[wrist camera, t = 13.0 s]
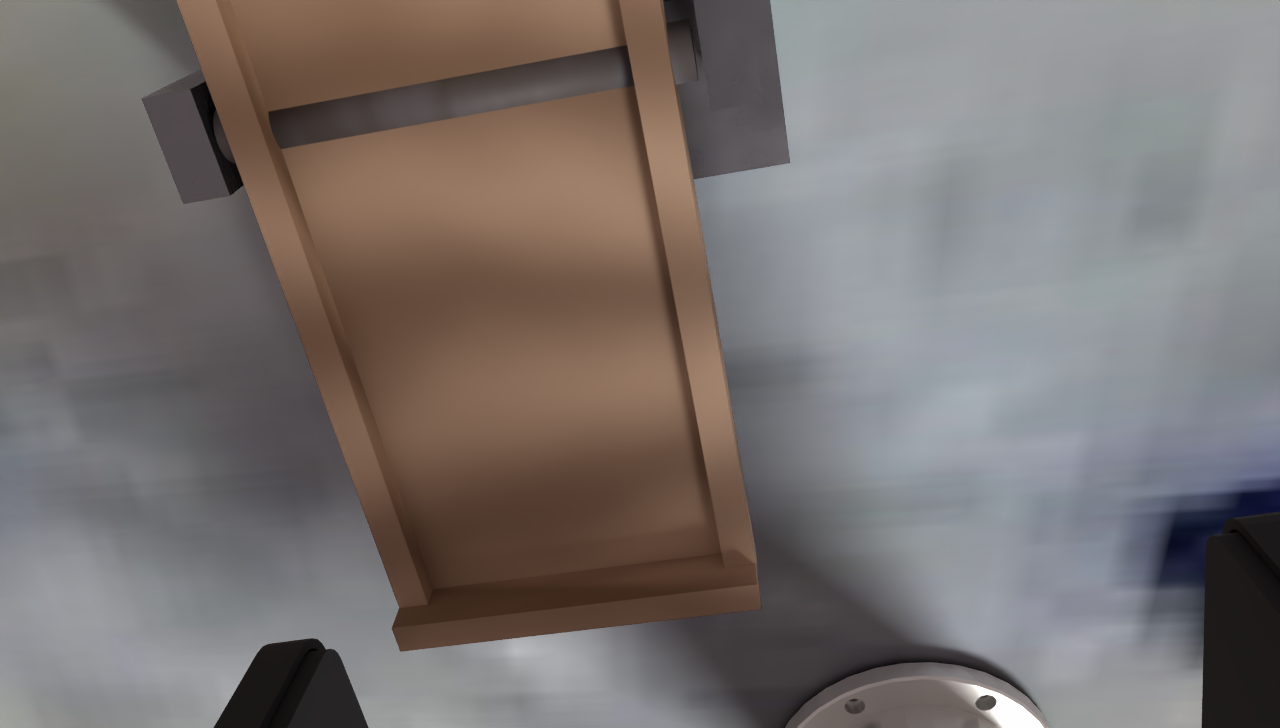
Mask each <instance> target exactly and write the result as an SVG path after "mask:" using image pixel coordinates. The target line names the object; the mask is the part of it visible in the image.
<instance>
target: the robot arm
mask: <svg viewBox="0 0 1280 728" xmlns="http://www.w3.org/2000/svg"><path fill="white" fill-rule="evenodd" d="M214 728H368V725H367V723H366V720H365V718H364V715H363V713H362V710H361V708H360V705H359V703H358V700H357V698H356V695H355V693H354V690H353V688H352V685H351V683H350V680H349V678H348V675H347V673H346V670H345V668H344V665H343V663H342V660H341V658H340V656H339V654H338V653H337V652H336V651H335V650H332V649H327V650H326V649H325V648H324V646H323V644H322V643H321V642H320V641H319V640H318V639H313V638H311V639H303V640H295V641H288V642H280V643H272V644H267V645H265V646H263V647H262V648H261V649H260V651H259V652H258V653H257V655H256V656H255V658H254V660H253V661H252V663H251V665H250V667H249V668H248V670H247V672H246V673H245V675H244V677H243V679H242V680H241V682H240V684H239V685H238V687H237V689H236V691H235V692H234V694H233V696H232V697H231V699H230V701H229V703H228V704H227V706H226V708H225V709H224V711H223V713H222V715H221V716H220V718H219V720H218V721H217V723H216V725H215V726H214ZM785 728H1049V727H1048V725H1047V723H1046V721H1045V719H1044V717H1043V715H1042V713H1041V712H1040V711H1039V710H1038V708H1037V707H1036V706H1035V705H1034V704H1033V703H1032V702H1031V701H1030V699H1029V698H1028V697H1027V696H1025V695H1024V694H1023V693H1021V692H1020V691H1018V690H1017V689H1016V688H1014V687H1013V686H1012V685H1010V684H1009V683H1007V682H1005V681H1003V680H1000V679H998V678H996V677H994V676H992V675H990V674H988V673H985V672H982V671H978V670H975V669H971V668H967V667H964V666H960V665H952V664H943V663H934V662H924V663H901V664H895V665H890V666H884V667H878V668H874V669H871V670H868V671H865V672H862V673H859V674H855V675H852V676H849V677H847V678H845V679H843V680H841V681H839V682H837V683H835V684H833V685H831V686H829V687H827V688H825V689H824V690H823V691H821V692H820V693H819V694H817V695H816V696H815V697H813V698H812V699H810V700H809V701H808V702H806V703H805V704H804V705H803V706H802V707H801V709H800V710H799V711H798V712H797V713H796V714H795V715H794V716H793V717H792V718H791V719H790V721H789V722H788V724H787V726H786V727H785ZM1202 728H1280V512H1275V513H1268V514H1260V515H1252V516H1245V517H1237V518H1230V519H1229V520H1227V521H1226V522H1225V525H1224V527H1223V533H1222V534H1220V535H1212V536H1210V537H1209V538H1208V541H1207V545H1206V570H1205V613H1204V656H1203V698H1202Z"/></svg>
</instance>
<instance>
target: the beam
mask: <svg viewBox="0 0 1280 728" xmlns="http://www.w3.org/2000/svg"><path fill="white" fill-rule="evenodd" d="M176 1H177V4H178V7H179V9H180V12H181V15H182V17H183V20H184V23H185V26H186V28H187V31H188V34H189V37H190V39H191V42H192V45H193V47H194V50H195V53H196V56H197V58H198V61H199V64H200V66H201V69H202V72H203V75H204V77H205V80H206V83H207V86H208V88H209V91H210V94H211V96H212V99H213V102H214V105H215V107H216V110H215V112H214V117H213V126H214V133H215V137H216V140H217V143H218V145H219V148H220V150H221V151H222V153H223V155H224V156H225V157H226V158H227V159H228V160H229V161H230V162H232V163H235V164H236V165H237V167H238V170H239V173H240V175H241V178H242V181H243V184H244V186H245V189H246V192H247V194H248V197H249V200H250V203H251V205H252V208H253V211H254V214H255V216H256V219H257V222H258V224H259V227H260V230H261V233H262V235H263V238H264V241H265V244H266V246H267V249H268V252H269V254H270V257H271V260H272V263H273V265H274V268H275V271H276V273H277V276H278V279H279V282H280V284H281V287H282V290H283V293H284V295H285V298H286V301H287V303H288V306H289V309H290V312H291V314H292V317H293V320H294V322H295V325H296V328H297V331H298V333H299V336H300V339H301V342H302V344H303V347H304V350H305V352H306V355H307V358H308V361H309V363H310V366H311V369H312V372H313V374H314V377H315V380H316V382H317V385H318V388H319V391H320V393H321V396H322V399H323V401H324V404H325V407H326V410H327V412H328V415H329V418H330V421H331V423H332V426H333V429H334V431H335V434H336V437H337V440H338V442H339V445H340V448H341V450H342V453H343V456H344V459H345V461H346V464H347V467H348V470H349V472H350V475H351V478H352V480H353V483H354V486H355V489H356V491H357V494H358V497H359V499H360V502H361V505H362V508H363V510H364V513H365V516H366V519H367V521H368V524H369V527H370V529H371V532H372V535H373V538H374V540H375V543H376V546H377V549H378V551H379V554H380V557H381V559H382V562H383V565H384V568H385V570H386V573H387V576H388V578H389V581H390V584H391V587H392V589H393V592H394V595H395V598H396V600H397V603H398V606H399V610H398V613H397V616H396V618H395V621H394V624H393V626H392V630H393V633H394V636H395V638H396V641H397V644H398V646H399V649H400V652H401V651H409V650H418V649H426V648H435V647H443V646H452V645H460V644H469V643H477V642H486V641H494V640H503V639H511V638H520V637H528V636H537V635H545V634H554V633H562V632H571V631H579V630H588V629H597V628H605V627H614V626H622V625H631V624H639V623H648V622H656V621H665V620H673V619H682V618H690V617H699V616H707V615H716V614H724V613H733V612H741V611H750V610H758V609H761V600H760V590H759V579H758V569H757V558H756V549H755V543H754V537H753V531H752V525H751V519H750V513H749V507H748V501H747V495H746V489H745V484H744V478H743V472H742V466H741V460H740V454H739V448H738V442H737V436H736V430H735V424H734V418H733V412H732V406H731V400H730V394H729V388H728V382H727V376H726V370H725V364H724V358H723V352H722V346H721V340H720V334H719V328H718V322H717V317H716V311H715V305H714V299H713V293H712V287H711V281H710V275H709V269H708V263H707V257H706V251H705V245H704V239H703V233H702V227H701V221H700V215H699V209H698V203H697V197H696V191H695V185H694V179H693V173H692V167H691V161H690V155H689V150H688V144H687V138H686V132H685V126H684V120H683V114H682V108H681V102H680V96H679V90H678V84H681V83H687V82H692V81H698V71H697V64H696V57H695V50H694V44H693V38H692V32H691V26H690V21H689V19H683V20H678V21H672V22H667V18H666V12H665V6H664V0H176Z"/></svg>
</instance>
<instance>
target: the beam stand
mask: <svg viewBox="0 0 1280 728" xmlns="http://www.w3.org/2000/svg"><path fill="white" fill-rule="evenodd" d="M664 6H665V12H666V18H667V22H672V21H678V20H683V19H689V21H690V26H691V32H692V38H693V44H694V50H695V57H696V64H697V71H698V81H692V82H687V83H681V84H678V90H679V96H680V102H681V108H682V114H683V120H684V126H685V132H686V138H687V144H688V150H689V155H690V161H691V167H692V173H693V179H697V178H703V177H709V176H715V175H721V174H727V173H733V172H739V171H745V170H751V169H757V168H763V167H769V166H774V165H780V164H786V163H790V158H789V150H788V142H787V134H786V126H785V118H784V110H783V102H782V94H781V86H780V78H779V70H778V62H777V54H776V46H775V38H774V29H773V21H772V13H771V5H770V0H664ZM142 101H143V103H144V106H145V108H146V111H147V113H148V116H149V118H150V121H151V123H152V126H153V128H154V131H155V133H156V136H157V138H158V141H159V143H160V146H161V148H162V151H163V153H164V156H165V158H166V161H167V163H168V166H169V168H170V171H171V173H172V176H173V179H174V181H175V184H176V186H177V189H178V191H179V194H180V196H181V199H182V201H183V204H186V203H192V202H197V201H203V200H209V199H214V198H220V197H226V196H230V195H232V194H233V193H234V192H235V191H237V190H238V189H239V188H240V187H242V186H243V185H244V184H243V181H242V178H241V175H240V173H239V170H238V167H237V165H236V164H235V163H232V162H230V161H229V160H228V159H227V158H226V157H225V156H224V155H223V153H222V151H221V150H220V148H219V145H218V143H217V140H216V137H215V133H214V126H213V117H214V112H215V110H216V107H215V105H214V102H213V99H212V96H211V94H210V91H209V88H208V86H207V83H206V80H205V77H204V75H203V72H202V69H201V70H199V71H197V72H195V73H193V74H191V75H189V76H187V77H185V78H183V79H181V80H179V81H176V82H174V83H172V84H170V85H168V86H166V87H164V88H162V89H160V90H158V91H156V92H154V93H152V94H150V95H148V96H146V97H143V98H142Z"/></svg>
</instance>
